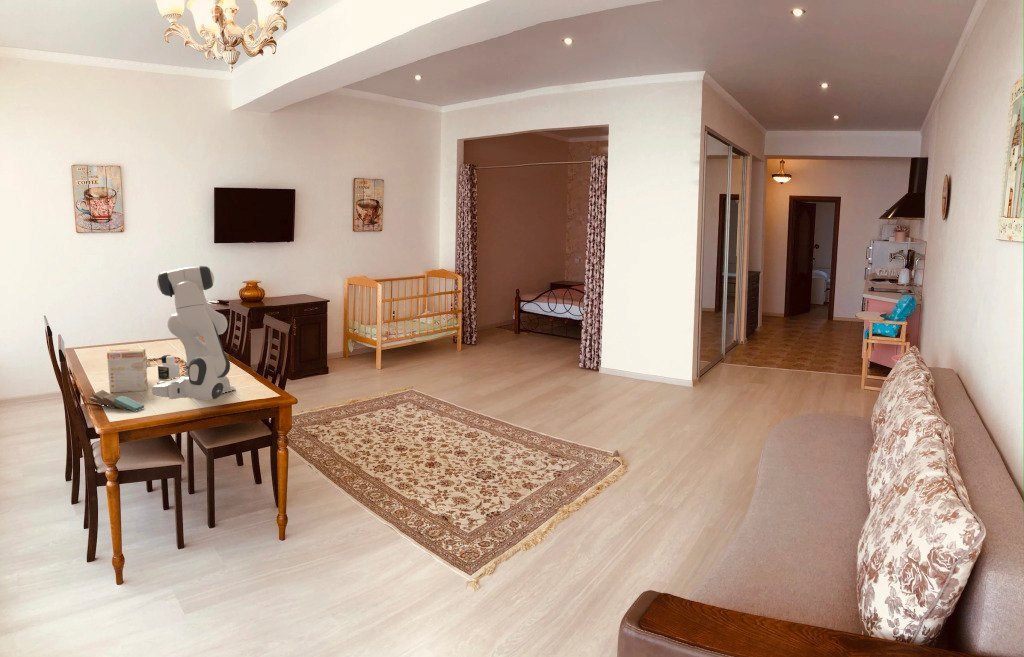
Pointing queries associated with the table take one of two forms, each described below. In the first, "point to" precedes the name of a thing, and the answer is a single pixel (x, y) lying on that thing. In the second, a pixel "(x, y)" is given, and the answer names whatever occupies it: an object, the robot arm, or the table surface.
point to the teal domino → (128, 403)
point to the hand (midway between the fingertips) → (159, 383)
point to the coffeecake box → (127, 370)
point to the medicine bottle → (168, 368)
